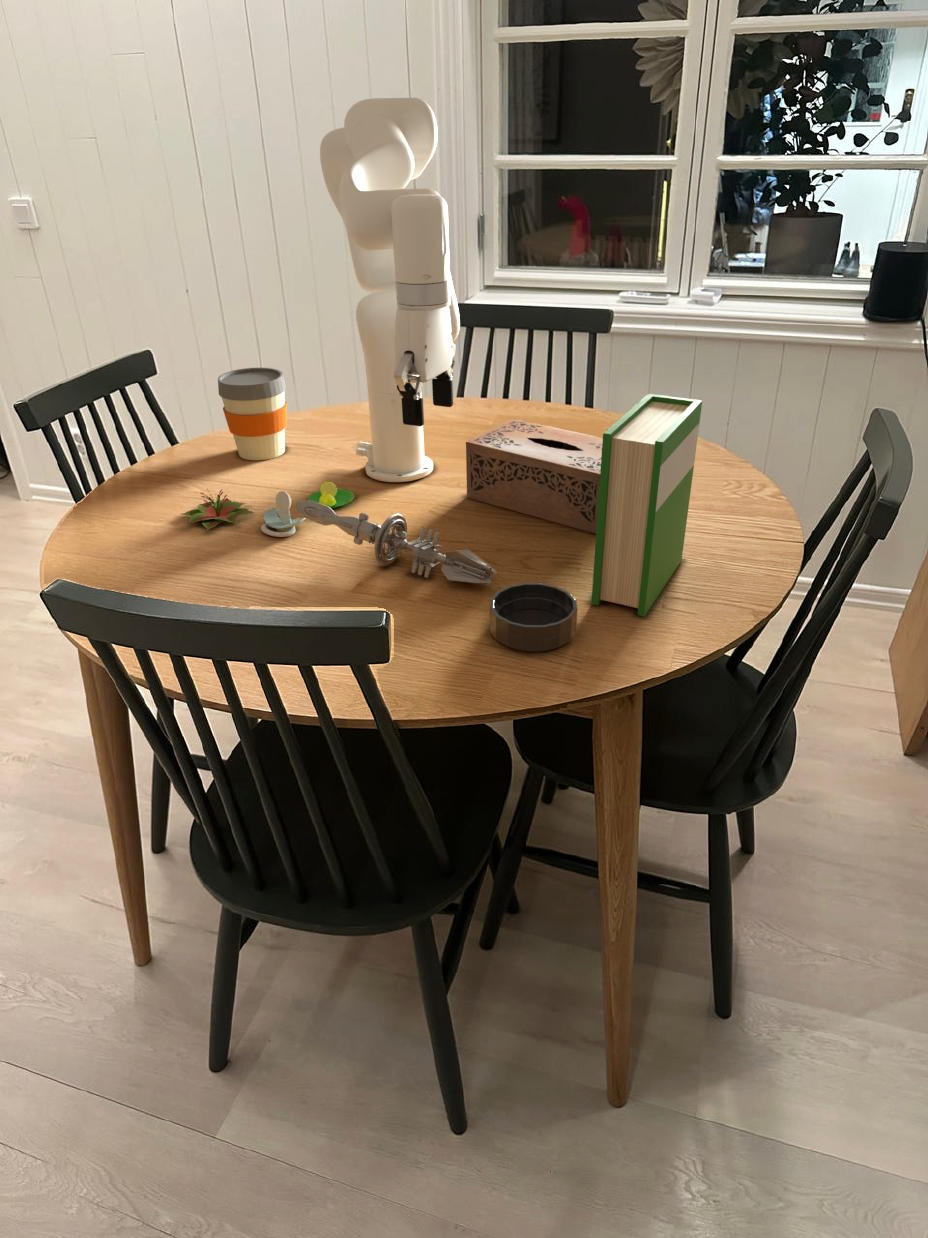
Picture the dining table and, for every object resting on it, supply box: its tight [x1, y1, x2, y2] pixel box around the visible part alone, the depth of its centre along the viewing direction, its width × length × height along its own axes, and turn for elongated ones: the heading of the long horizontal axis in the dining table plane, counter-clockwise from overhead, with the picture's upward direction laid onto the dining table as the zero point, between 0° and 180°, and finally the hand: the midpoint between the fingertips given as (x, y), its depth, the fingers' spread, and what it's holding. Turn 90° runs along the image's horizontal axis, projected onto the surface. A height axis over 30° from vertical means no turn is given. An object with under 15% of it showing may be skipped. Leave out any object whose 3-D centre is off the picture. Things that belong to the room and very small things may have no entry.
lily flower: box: [181, 488, 256, 531], centre depth 140 cm, size 12×12×5 cm
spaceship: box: [295, 499, 498, 585], centre depth 124 cm, size 8×35×8 cm
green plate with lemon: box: [307, 481, 355, 509], centre depth 145 cm, size 8×8×3 cm
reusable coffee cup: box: [217, 367, 288, 461], centre depth 163 cm, size 13×13×15 cm
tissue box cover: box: [465, 418, 603, 535], centre depth 142 cm, size 26×14×10 cm, turn 53°
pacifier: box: [260, 490, 306, 538], centre depth 135 cm, size 7×6×6 cm
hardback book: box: [591, 393, 703, 617], centre depth 113 cm, size 18×7×24 cm, turn 152°
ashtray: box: [489, 582, 578, 653], centre depth 108 cm, size 11×11×4 cm
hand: (428, 414), depth 126 cm, fingers open, 9 cm apart
